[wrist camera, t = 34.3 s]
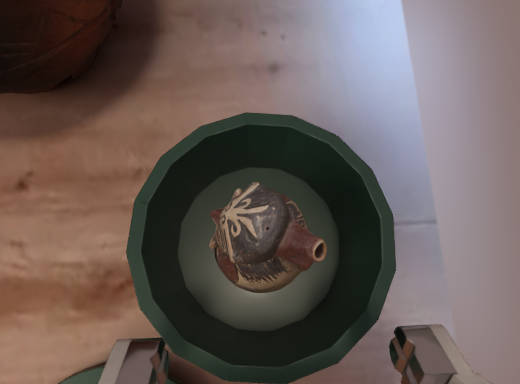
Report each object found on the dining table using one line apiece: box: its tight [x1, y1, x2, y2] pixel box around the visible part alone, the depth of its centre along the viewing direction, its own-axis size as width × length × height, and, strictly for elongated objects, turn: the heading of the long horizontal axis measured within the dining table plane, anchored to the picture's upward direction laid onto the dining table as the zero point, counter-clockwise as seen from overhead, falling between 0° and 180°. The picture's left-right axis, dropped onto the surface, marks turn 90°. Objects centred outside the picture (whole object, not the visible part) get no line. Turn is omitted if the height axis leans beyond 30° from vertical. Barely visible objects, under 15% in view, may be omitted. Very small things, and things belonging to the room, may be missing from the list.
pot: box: [126, 113, 396, 384], centre depth 20 cm, size 15×15×8 cm
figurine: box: [209, 182, 327, 293], centre depth 18 cm, size 7×7×12 cm
